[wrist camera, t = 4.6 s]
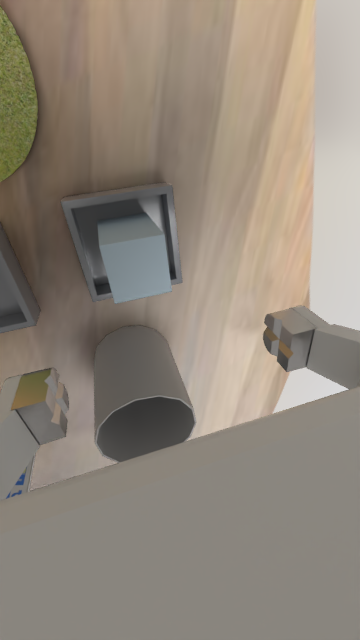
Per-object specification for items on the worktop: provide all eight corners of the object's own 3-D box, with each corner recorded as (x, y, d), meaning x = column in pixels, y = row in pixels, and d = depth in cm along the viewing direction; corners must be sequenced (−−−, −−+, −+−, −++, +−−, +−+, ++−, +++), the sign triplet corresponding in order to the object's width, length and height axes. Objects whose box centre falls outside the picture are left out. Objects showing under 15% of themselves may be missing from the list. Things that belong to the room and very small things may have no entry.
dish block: (175, 272, 26) (182, 282, 24) (92, 289, 25) (92, 302, 23) (164, 181, 22) (172, 185, 20) (63, 196, 21) (60, 202, 19)
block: (153, 258, 25) (172, 291, 19) (109, 267, 24) (114, 304, 18) (145, 212, 22) (164, 234, 17) (97, 220, 22) (99, 246, 16)
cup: (82, 338, 28) (79, 417, 19) (160, 315, 29) (187, 381, 21) (108, 393, 32) (114, 475, 24) (174, 371, 33) (200, 443, 25)
